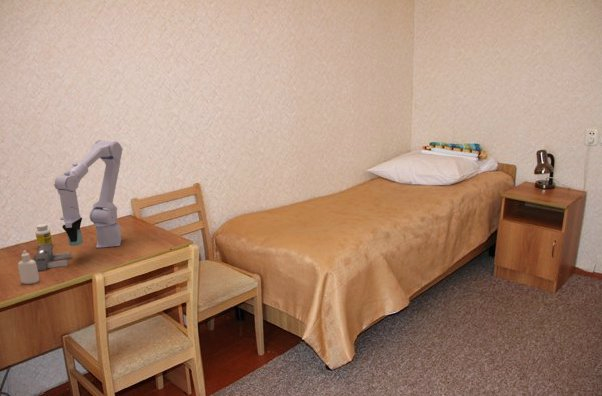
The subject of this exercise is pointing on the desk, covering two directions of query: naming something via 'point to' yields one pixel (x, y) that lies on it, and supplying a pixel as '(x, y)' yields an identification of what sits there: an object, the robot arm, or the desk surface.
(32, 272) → the eye dropper bottle
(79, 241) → the teal cylinder
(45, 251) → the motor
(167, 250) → the desk surface
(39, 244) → the supplement bottle
